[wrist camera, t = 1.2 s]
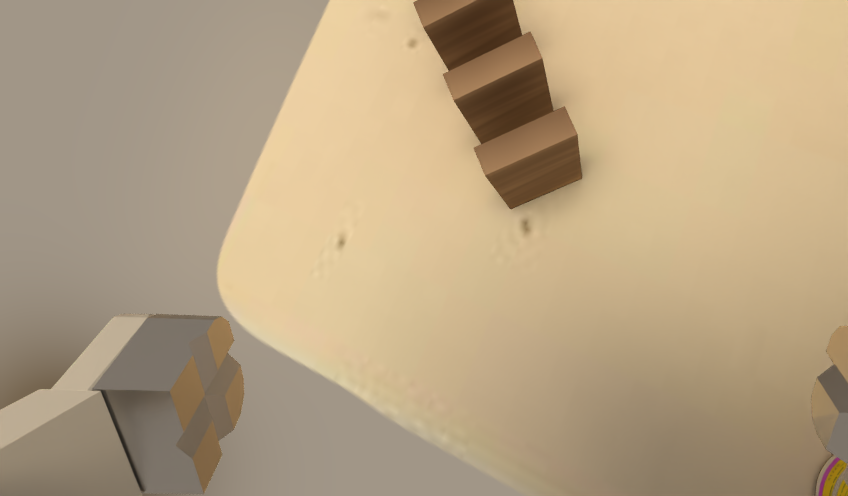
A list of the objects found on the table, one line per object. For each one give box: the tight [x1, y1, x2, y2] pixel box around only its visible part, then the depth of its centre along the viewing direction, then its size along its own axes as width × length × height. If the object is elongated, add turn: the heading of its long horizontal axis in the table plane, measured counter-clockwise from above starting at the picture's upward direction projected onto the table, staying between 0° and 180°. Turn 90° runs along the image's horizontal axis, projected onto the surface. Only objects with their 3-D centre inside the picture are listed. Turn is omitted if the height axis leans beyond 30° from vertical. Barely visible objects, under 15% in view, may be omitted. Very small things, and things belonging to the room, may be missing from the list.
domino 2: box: [443, 32, 553, 144], centre depth 38 cm, size 2×5×10 cm, turn 112°
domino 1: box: [414, 0, 522, 71], centre depth 39 cm, size 2×5×10 cm, turn 112°
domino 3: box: [474, 106, 582, 209], centre depth 37 cm, size 2×5×10 cm, turn 112°
